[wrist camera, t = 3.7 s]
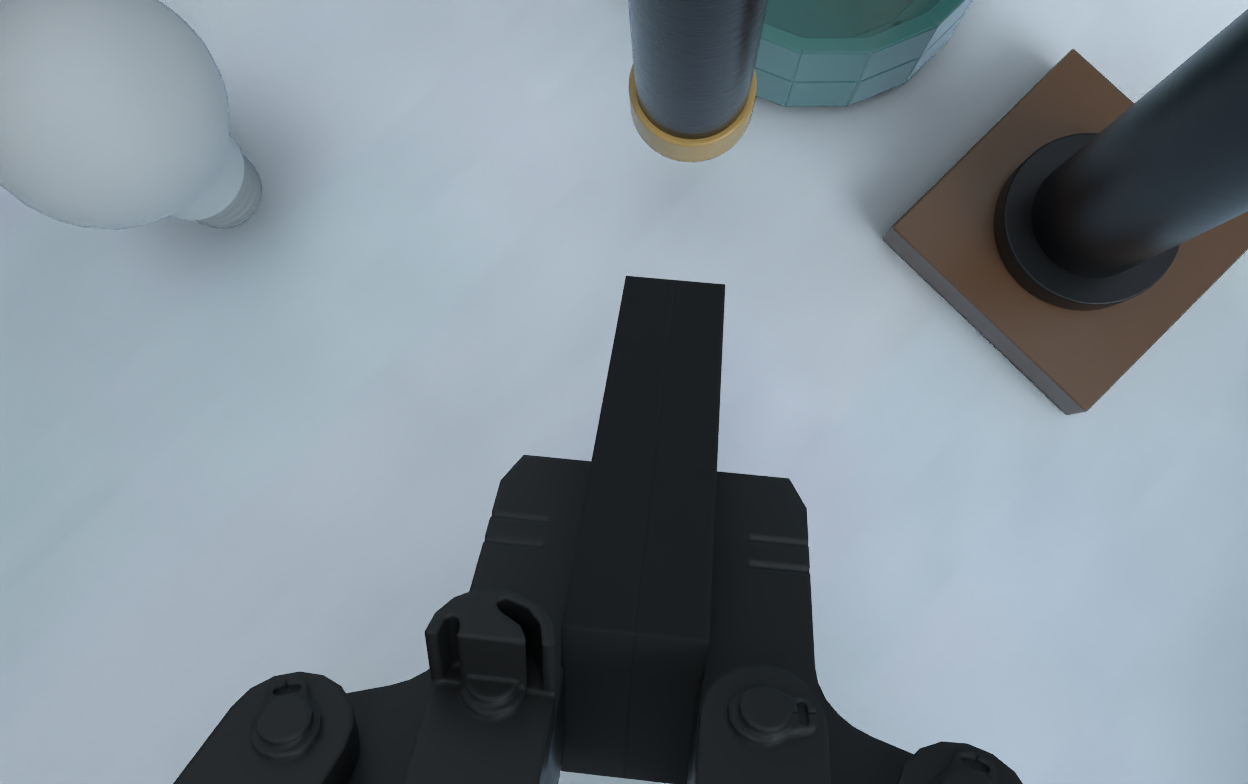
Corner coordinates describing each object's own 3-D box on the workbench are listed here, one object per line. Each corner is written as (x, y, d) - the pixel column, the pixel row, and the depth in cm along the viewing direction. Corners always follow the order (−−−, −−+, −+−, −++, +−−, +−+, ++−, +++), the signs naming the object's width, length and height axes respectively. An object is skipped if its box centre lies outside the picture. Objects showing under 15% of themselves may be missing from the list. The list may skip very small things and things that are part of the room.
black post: (881, 239, 32) (1221, -165, 12) (1055, 67, 33) (1657, -592, 13) (1066, 416, 32) (1745, 285, 12) (1243, 238, 32) (2195, -182, 12)
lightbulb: (354, 241, 33) (198, 117, 22) (184, 319, 33) (-55, 233, 22) (283, 79, 34) (99, -118, 23) (117, 155, 34) (-147, -6, 23)
